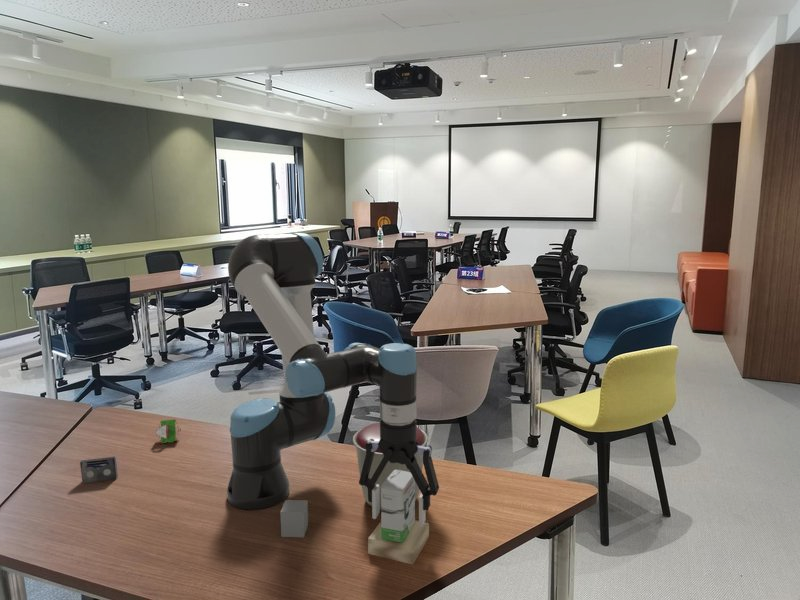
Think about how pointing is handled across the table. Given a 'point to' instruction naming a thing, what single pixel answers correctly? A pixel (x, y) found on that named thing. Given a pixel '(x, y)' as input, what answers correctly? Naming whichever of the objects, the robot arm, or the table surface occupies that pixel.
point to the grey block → (294, 518)
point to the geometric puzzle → (167, 431)
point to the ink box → (397, 505)
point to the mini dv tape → (98, 469)
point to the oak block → (399, 544)
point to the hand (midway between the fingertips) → (398, 519)
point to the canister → (374, 433)
